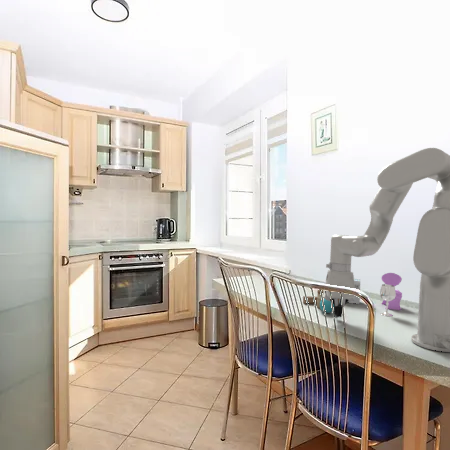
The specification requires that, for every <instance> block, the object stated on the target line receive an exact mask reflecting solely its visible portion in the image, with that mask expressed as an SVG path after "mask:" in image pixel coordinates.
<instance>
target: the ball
mask: <svg viewBox="0 0 450 450" xmlns="http://www.w3.org/2000/svg"><path fill="white" fill-rule="evenodd" d="M324 305H325V310H326V313H325V314H330V313H333V311H332V308H331V301H328V300H325V299H324ZM333 307H334V304H333ZM320 308H321V309H320V310H321V311H322V312H323V306H322V300H321V302H320Z"/></svg>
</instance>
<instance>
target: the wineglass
mask: <svg viewBox="0 0 450 450" xmlns="http://www.w3.org/2000/svg"><path fill="white" fill-rule="evenodd" d="M395 290H396V286H393V285H387V284H385V283H383V284H381V286H380V289H379V296H380V298H381V299H382V301H383V300H385V301H387V302H386V306H385V308H386V309H385V312H381V313H380V315H381V316H384V317H393V314H392V313H389V312H388V310H389V309H388V304H389V303H388V301H392V300H394V299H395V296H396V292H395Z"/></svg>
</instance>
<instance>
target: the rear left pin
mask: <svg viewBox="0 0 450 450" xmlns="http://www.w3.org/2000/svg"><path fill="white" fill-rule="evenodd" d="M316 292H317V296H316V297H317V304H316V309H320V310H321V308H320V302H321V295H320V290H318V289H317V291H316ZM322 293H323V294H325V289H324V290H322Z"/></svg>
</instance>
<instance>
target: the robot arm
mask: <svg viewBox="0 0 450 450" xmlns="http://www.w3.org/2000/svg"><path fill="white" fill-rule="evenodd" d="M427 178H428V179H432V180H434V181H435V182H436V184H437V185H436V189H435V192H434V196H433V205H432V208H431V209H429V210H428V211H426V212H424V214H423V215H422V217H421V218H420V220H419V222H418V223H419V224H418V228H417V233H416V239H415V245H414V250H413V264H414V267H415V268H416V270H417V271H418V272H419V273H420V281H419V282H420V283H419V295H418V311H417V312H418V315H417V316H418V318H417V333H416V334H413V335H412V336H411V342H413V343H414V344H415V345H417V346H419V347H422V348H423V349H427V350H431V351H435V350H436V352H441V351H442V352H441V353H450V155H449V154H448V153H447V152H445V151H444V150H442V149H439V148H436V147H427V148H423V149H420V150H418V151H416V152H414V153H411V154H409V155H407V156H405V157H402V158H400V159H398V160H396V161H393V162H391V163H389V164H387V165H386V166H384V167H382V169H381V170H380V171H379V172H378V174H377V178H376V179H377V180H376V181H377V183H378V186H379V188H378V191H377V193H375V196H374V197H373V199H372V201H371V203H370V204H369V212H370V222H369V225H368V227H367V228H366V231H365V232H364V234H363V235H355V236H353V235H352V236H351V235H345V234H333V235H332V236H331V237H330V238H331V239H330V255H329V256H330V258H329V263H326V265H325V268H327V269H328V270H327V274H326V278H325V283H324V284H330V285H337V286H345V287H350V288H355V285H354V279H355V277H354V276H355V275H354V272H353V271H352V257H356V258H364V257H369V256H374V255H375V254H376V253H377V252H378V251H379V250H380V249H381V247H382V245H383V244H384V241H386V238H387V237H388V235H389V233H390V231H391V227H392V224H393V222H394V217H395V215H396V213H397V212H398V211H399V208H400V207H401V205H402V204H403V202H404V200H405V199H406V197H407V195H408V193H409V191H410V190H411V188H412V186H413V184H414V183H417V182H419V181H421V180H425V179H427ZM331 294H332V300H333V304H334V311H333V314H334V315H335V317H337V318H342V315H343V314H342V305H341V296H340V293H338V292H331ZM323 297H324V299H325V300H328V301H331V299H330V292H329V291H325V290H324V296H323ZM342 297H343V307H345V305H346V304H348V303H347V302H350V301H353V300H354V299H353V298H354V295H349V294H344V293H342ZM338 299H340V300H339V304H338Z"/></svg>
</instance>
